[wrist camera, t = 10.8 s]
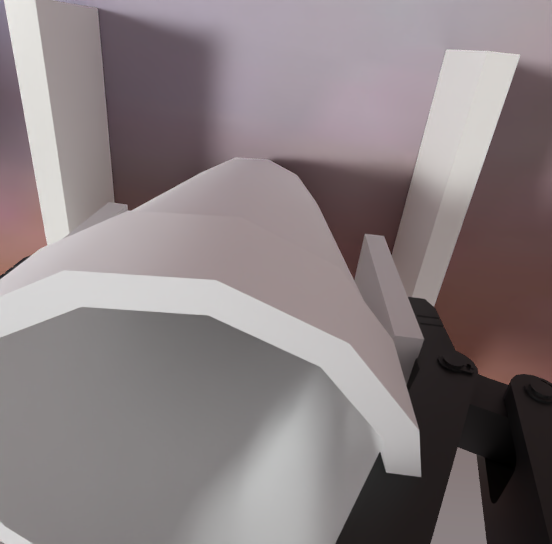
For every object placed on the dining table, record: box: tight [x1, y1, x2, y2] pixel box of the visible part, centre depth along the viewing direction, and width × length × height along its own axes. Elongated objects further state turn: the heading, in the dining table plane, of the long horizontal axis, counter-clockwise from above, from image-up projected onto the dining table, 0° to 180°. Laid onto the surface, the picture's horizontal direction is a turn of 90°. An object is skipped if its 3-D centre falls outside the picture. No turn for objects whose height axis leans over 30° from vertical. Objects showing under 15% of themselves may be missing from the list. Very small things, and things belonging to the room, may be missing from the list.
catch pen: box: [4, 0, 520, 307], centre depth 19 cm, size 16×16×4 cm
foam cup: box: [0, 158, 421, 544], centre depth 14 cm, size 10×9×13 cm
